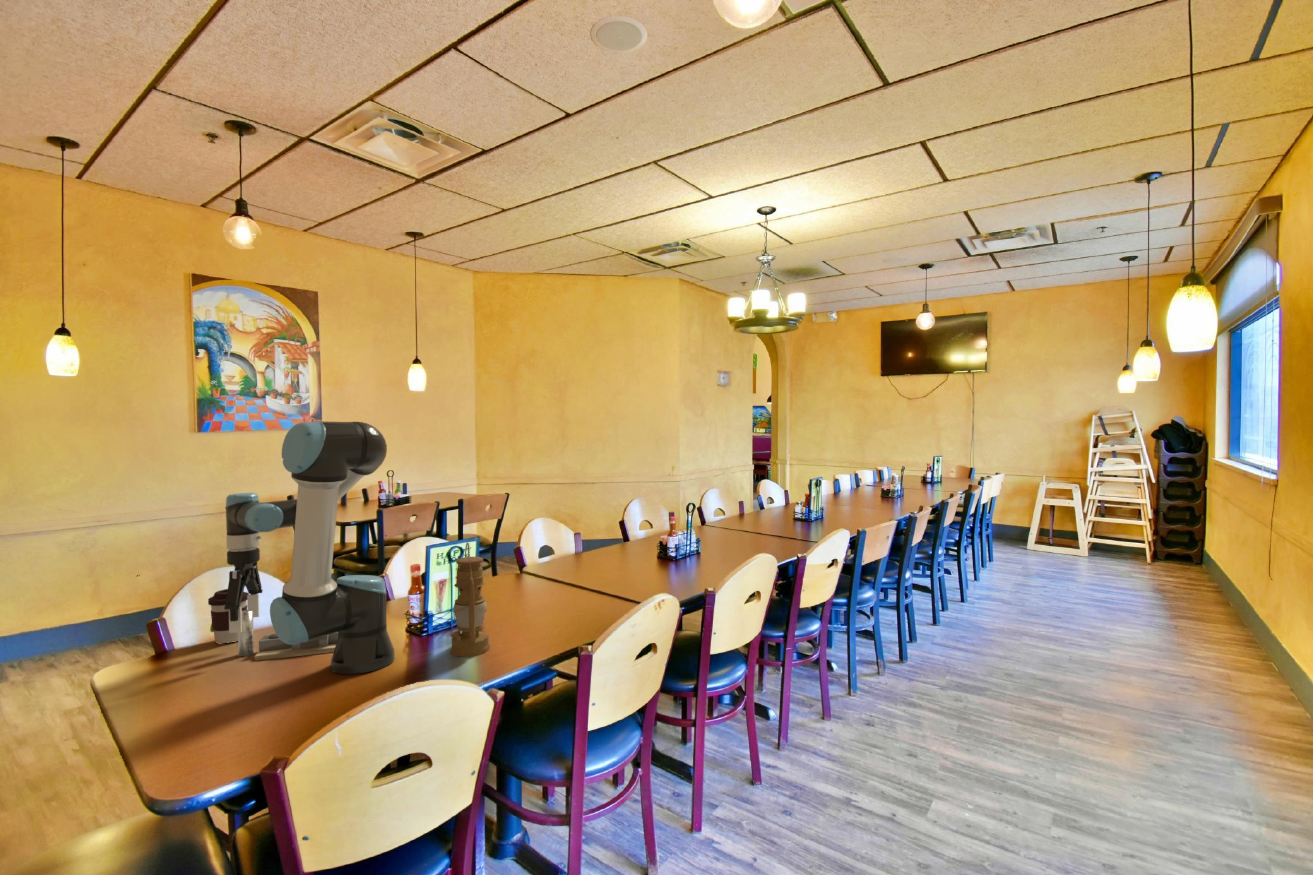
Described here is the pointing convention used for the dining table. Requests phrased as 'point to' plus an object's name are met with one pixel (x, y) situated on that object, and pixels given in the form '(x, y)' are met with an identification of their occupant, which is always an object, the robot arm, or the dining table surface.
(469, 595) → the lantern
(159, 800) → the dining table surface
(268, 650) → the chain bed
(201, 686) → the dining table surface
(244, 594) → the coffee cup
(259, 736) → the dining table surface
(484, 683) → the dining table surface
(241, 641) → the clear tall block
